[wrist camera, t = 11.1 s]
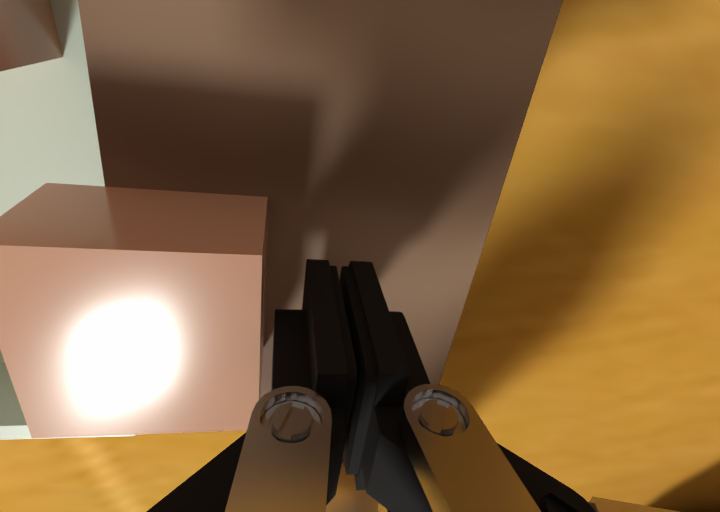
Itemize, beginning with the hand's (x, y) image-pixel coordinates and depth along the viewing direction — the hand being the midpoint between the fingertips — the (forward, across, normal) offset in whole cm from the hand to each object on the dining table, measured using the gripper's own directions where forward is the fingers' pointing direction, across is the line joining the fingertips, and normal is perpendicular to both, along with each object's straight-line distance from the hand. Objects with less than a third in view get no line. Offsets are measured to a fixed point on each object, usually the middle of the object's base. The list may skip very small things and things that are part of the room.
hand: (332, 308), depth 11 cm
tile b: (+1, +4, 0) cm, 5 cm away
